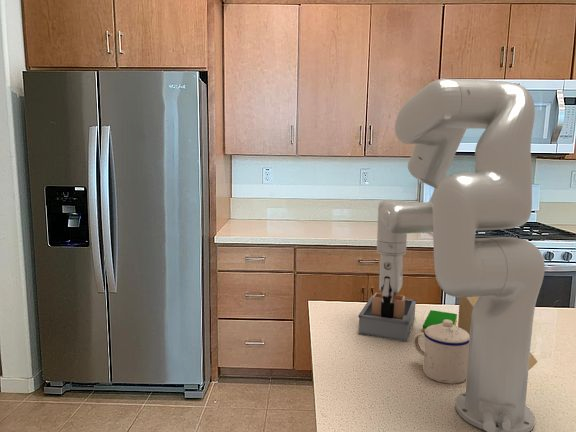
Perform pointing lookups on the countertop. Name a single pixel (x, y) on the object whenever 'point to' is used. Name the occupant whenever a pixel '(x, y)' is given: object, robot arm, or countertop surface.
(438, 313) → the dish sponge
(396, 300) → the box
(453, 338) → the teacup with lid
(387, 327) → the big crate
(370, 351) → the countertop surface
